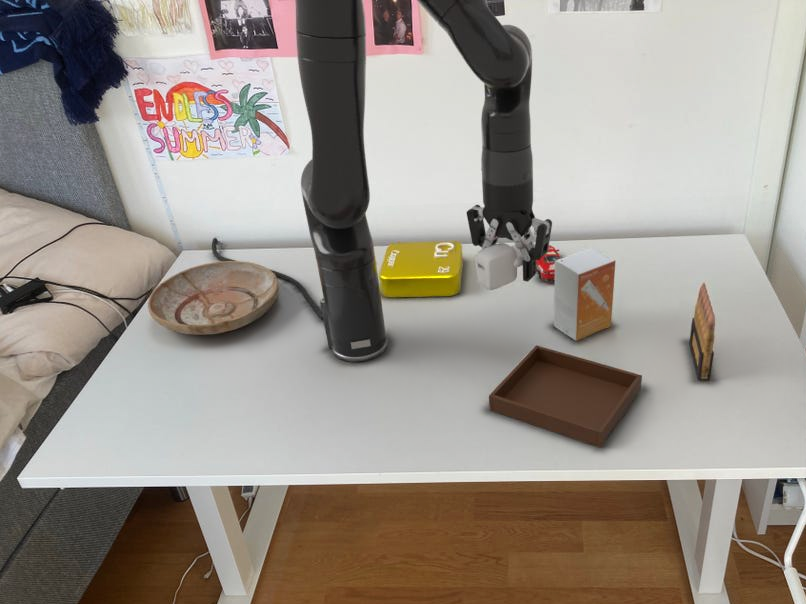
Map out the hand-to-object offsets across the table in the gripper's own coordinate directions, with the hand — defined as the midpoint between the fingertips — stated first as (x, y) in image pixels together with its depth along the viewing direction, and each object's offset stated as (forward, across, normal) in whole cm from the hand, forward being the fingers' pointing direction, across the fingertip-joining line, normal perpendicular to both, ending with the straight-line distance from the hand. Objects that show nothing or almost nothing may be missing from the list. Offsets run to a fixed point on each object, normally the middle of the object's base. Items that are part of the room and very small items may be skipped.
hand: (510, 274), depth 124 cm
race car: (+14, +7, -27) cm, 31 cm away
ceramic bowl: (+14, +54, +16) cm, 58 cm away
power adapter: (+1, 0, 0) cm, 1 cm away
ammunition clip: (+14, -29, -10) cm, 34 cm away
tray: (+14, -15, +9) cm, 22 cm away
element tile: (+14, +27, -13) cm, 33 cm away
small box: (+14, -8, -11) cm, 19 cm away
